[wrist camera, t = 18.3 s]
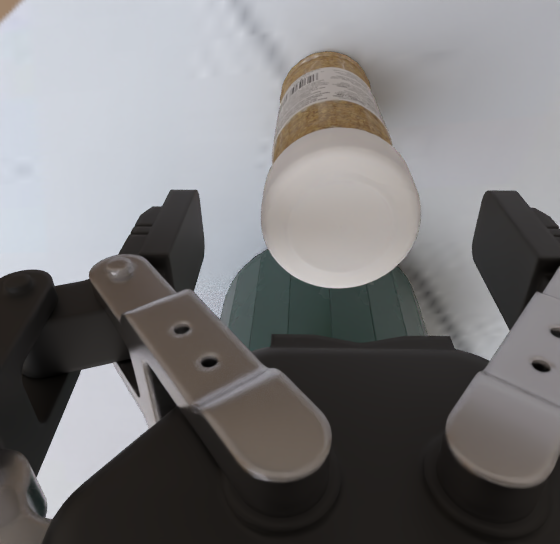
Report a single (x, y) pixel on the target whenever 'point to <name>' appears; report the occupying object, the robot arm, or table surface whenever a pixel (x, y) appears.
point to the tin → (317, 307)
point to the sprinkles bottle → (336, 180)
